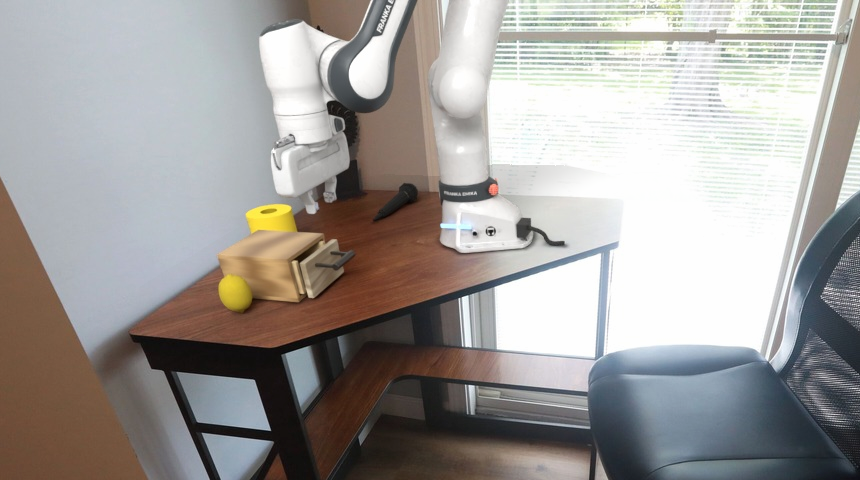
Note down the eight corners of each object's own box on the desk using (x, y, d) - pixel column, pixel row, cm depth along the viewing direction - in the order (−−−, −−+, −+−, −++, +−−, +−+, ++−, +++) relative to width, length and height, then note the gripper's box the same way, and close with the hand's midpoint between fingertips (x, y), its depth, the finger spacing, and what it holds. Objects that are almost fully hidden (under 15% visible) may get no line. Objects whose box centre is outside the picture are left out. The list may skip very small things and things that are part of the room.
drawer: (366, 273, 120) (360, 240, 116) (337, 300, 110) (329, 265, 106) (284, 267, 124) (275, 235, 120) (249, 292, 114) (238, 258, 110)
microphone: (382, 233, 150) (420, 201, 164) (383, 214, 146) (422, 183, 160) (364, 225, 151) (404, 194, 165) (365, 206, 147) (405, 176, 161)
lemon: (246, 320, 106) (233, 281, 102) (220, 318, 107) (206, 279, 103) (262, 306, 111) (250, 268, 106) (237, 304, 112) (224, 267, 107)
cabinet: (333, 273, 123) (323, 233, 118) (298, 302, 112) (286, 259, 107) (270, 268, 126) (258, 229, 121) (230, 296, 115) (216, 254, 110)
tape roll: (285, 259, 130) (274, 219, 125) (248, 256, 133) (236, 217, 127) (309, 243, 138) (299, 205, 133) (274, 240, 141) (263, 203, 135)
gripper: (287, 143, 90) (308, 227, 97) (348, 117, 106) (362, 191, 114) (252, 142, 91) (275, 225, 99) (318, 117, 108) (333, 190, 115)
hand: (322, 206), depth 106 cm, fingers open, 5 cm apart
